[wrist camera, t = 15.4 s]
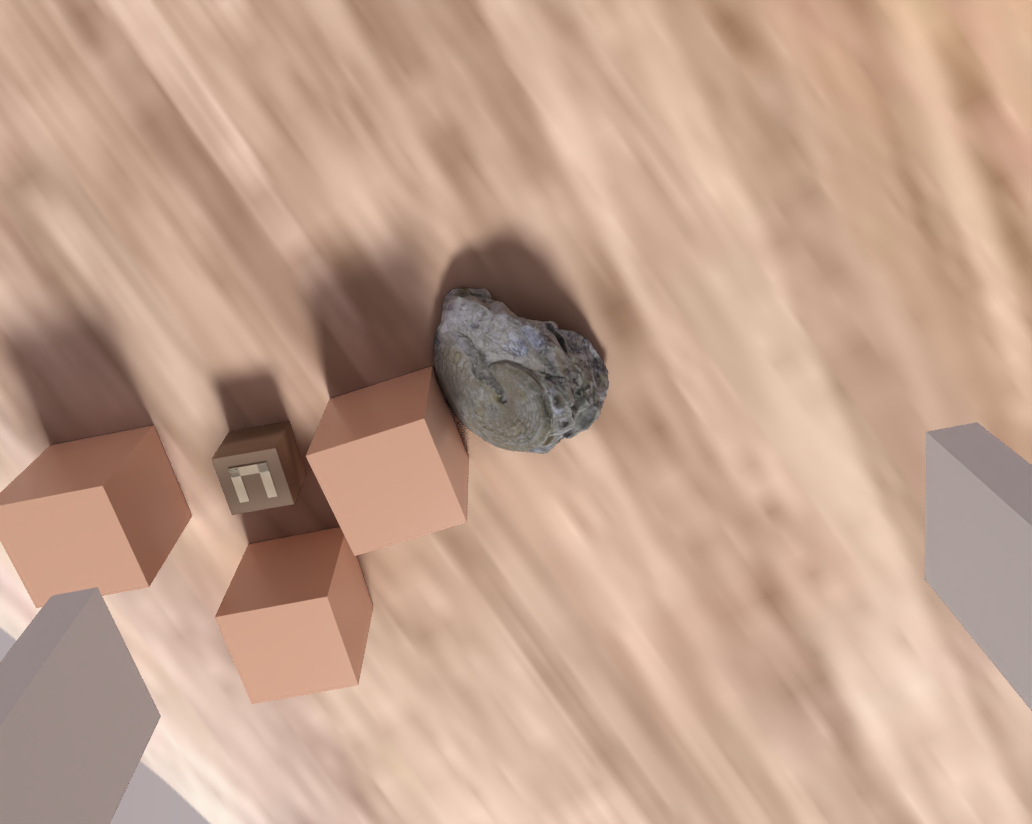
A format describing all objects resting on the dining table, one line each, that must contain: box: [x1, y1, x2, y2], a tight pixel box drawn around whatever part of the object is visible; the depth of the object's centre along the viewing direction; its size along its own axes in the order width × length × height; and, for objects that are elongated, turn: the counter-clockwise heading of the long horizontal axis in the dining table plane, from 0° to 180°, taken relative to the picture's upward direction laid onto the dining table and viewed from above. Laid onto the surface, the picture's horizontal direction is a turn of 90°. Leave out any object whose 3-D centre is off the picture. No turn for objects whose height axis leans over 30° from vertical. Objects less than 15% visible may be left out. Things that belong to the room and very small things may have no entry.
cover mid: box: [215, 527, 373, 704], centre depth 56 cm, size 7×7×8 cm
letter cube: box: [212, 421, 306, 515], centre depth 53 cm, size 4×4×4 cm
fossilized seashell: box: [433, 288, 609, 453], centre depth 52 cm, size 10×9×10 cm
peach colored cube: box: [306, 366, 469, 556], centre depth 51 cm, size 7×7×8 cm
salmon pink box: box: [0, 425, 192, 608], centre depth 52 cm, size 7×7×8 cm
